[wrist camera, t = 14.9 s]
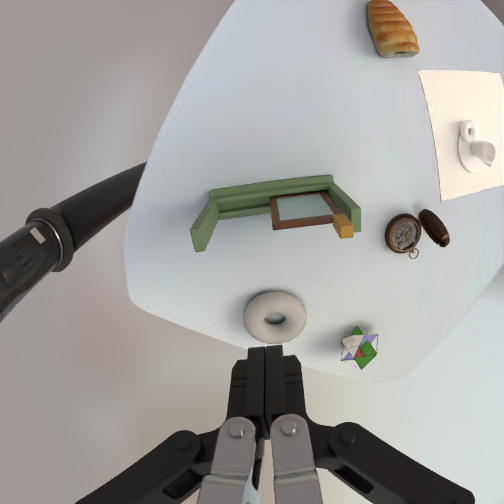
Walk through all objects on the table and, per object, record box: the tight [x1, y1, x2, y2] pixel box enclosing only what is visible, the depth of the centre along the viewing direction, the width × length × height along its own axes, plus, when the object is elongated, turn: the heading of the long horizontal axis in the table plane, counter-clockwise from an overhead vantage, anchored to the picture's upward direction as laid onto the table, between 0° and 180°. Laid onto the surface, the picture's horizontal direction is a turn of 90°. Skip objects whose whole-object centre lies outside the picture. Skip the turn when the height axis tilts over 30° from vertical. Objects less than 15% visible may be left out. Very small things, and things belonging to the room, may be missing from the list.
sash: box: [270, 190, 353, 239], centre depth 29 cm, size 7×1×13 cm, turn 99°
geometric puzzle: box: [341, 326, 378, 370], centre depth 44 cm, size 7×7×8 cm
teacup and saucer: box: [457, 119, 497, 174], centre depth 28 cm, size 9×8×4 cm
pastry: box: [367, 0, 419, 57], centre depth 22 cm, size 9×7×4 cm
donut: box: [243, 291, 307, 344], centre depth 43 cm, size 10×4×10 cm
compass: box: [385, 209, 450, 259], centre depth 34 cm, size 8×8×7 cm
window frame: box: [190, 175, 361, 252], centre depth 31 cm, size 16×4×12 cm, turn 99°
